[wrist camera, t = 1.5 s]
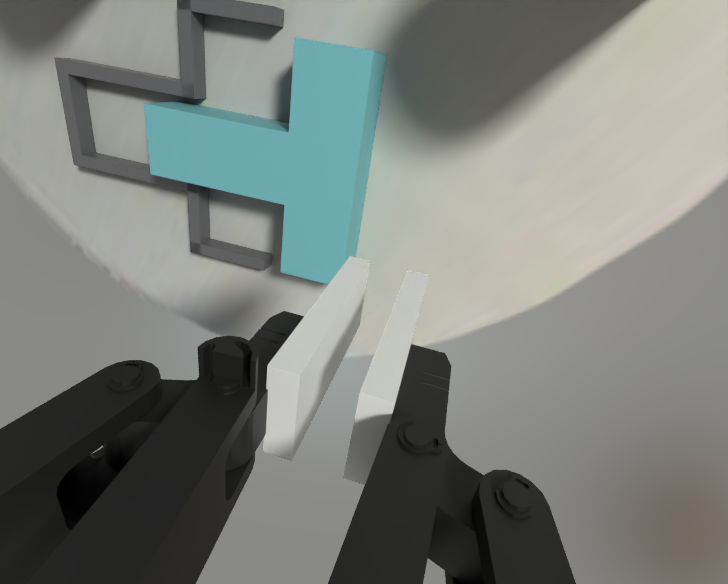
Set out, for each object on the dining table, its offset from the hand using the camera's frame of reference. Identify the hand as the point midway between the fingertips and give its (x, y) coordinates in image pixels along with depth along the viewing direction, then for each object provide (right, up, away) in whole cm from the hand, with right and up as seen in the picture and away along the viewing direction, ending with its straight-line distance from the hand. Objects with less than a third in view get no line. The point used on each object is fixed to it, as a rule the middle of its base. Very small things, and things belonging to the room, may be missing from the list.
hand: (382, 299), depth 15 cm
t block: (-8, +11, +18) cm, 23 cm away
